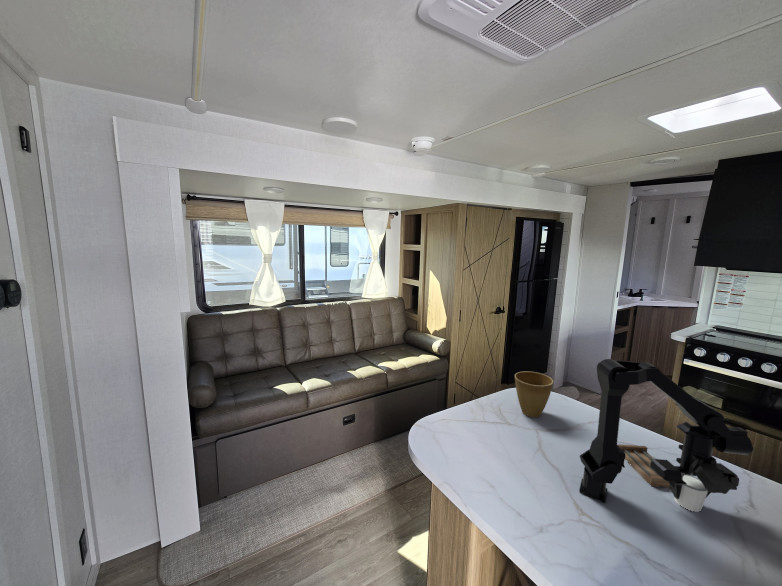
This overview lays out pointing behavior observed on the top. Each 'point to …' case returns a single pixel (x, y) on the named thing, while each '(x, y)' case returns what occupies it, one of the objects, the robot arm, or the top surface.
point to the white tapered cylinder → (692, 494)
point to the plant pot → (533, 392)
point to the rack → (643, 464)
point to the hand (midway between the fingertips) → (688, 498)
